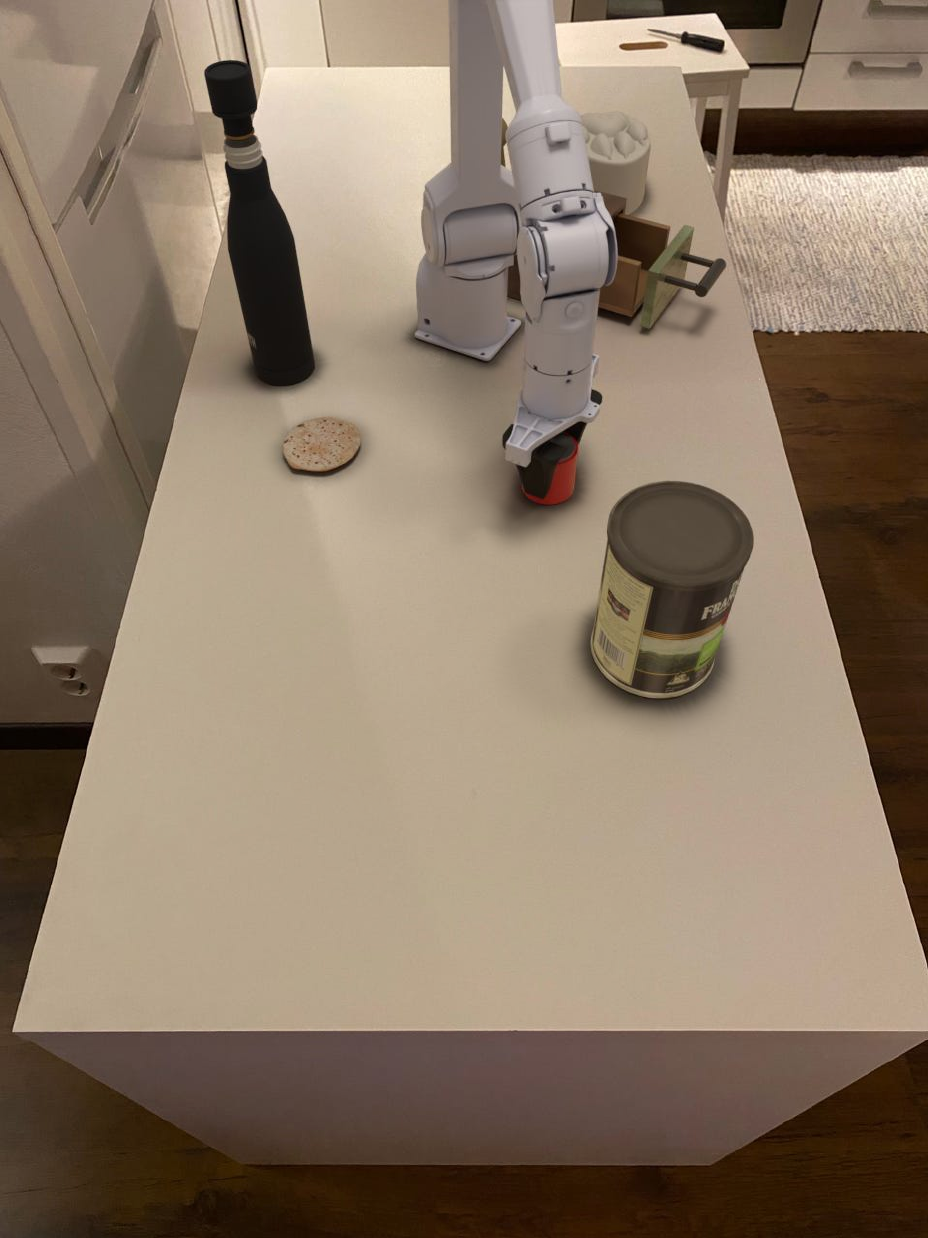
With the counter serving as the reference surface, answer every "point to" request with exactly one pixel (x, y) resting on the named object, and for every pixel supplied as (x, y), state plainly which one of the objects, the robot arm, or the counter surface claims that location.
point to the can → (561, 472)
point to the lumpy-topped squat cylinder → (617, 155)
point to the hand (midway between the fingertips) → (548, 475)
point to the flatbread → (321, 444)
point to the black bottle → (259, 237)
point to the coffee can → (668, 586)
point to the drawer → (652, 268)
